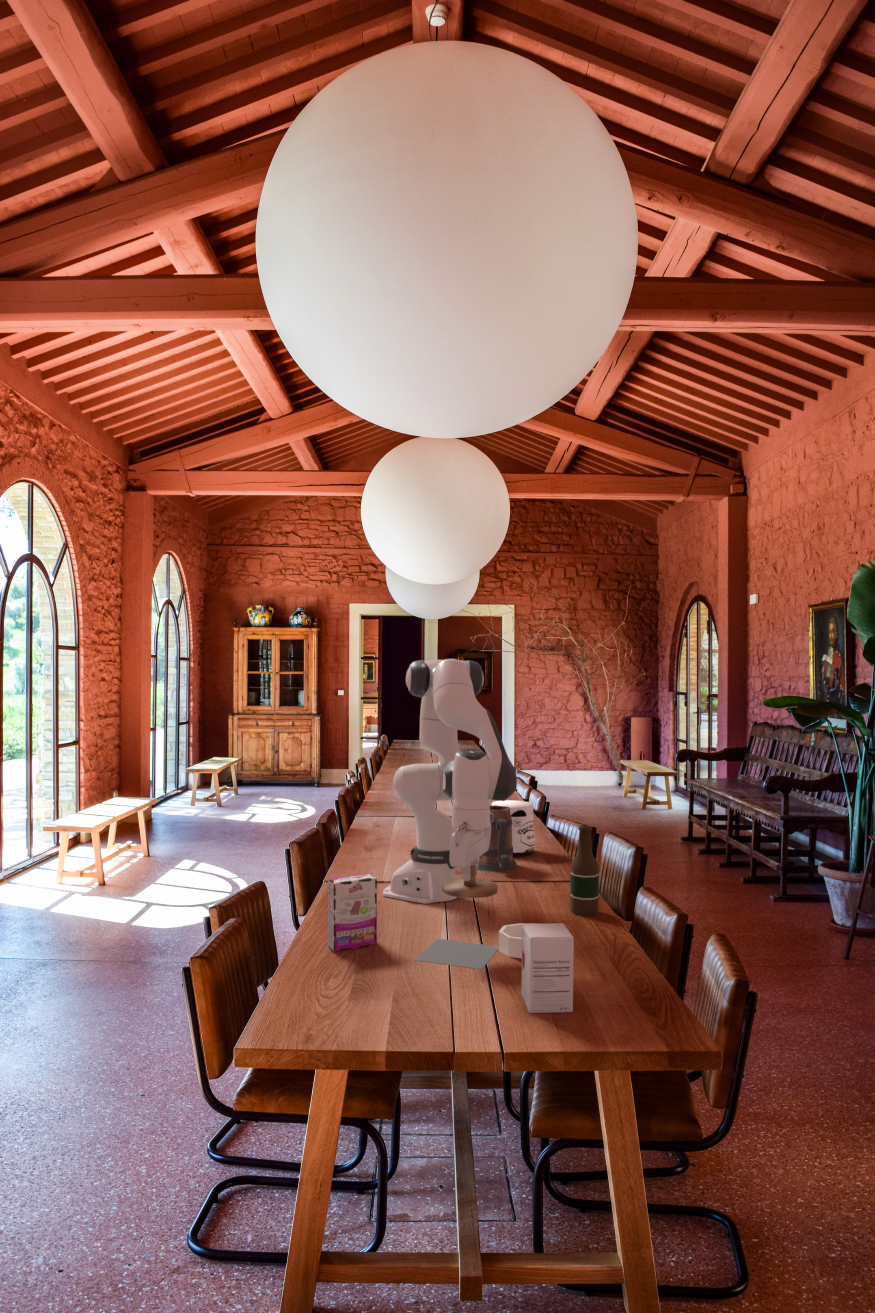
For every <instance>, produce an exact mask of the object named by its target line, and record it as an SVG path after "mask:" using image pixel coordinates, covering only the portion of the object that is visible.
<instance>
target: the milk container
mask: <svg viewBox="0 0 875 1313" xmlns="http://www.w3.org/2000/svg"><path fill="white" fill-rule="evenodd" d="M490 806H507V807H509V808H510V813H511V819H512V846H513V856H520V855H527V854H530V853H532V852H533V851H534V850H535V847H536V833H535V829H534V811H535V810H534V809H535V808H534V803H532V802H530V801H524V800H517V799H516V800H515V799H511V800H509V799H506V800H505V801H498V800H494V801H492V802H491V805H490Z"/></svg>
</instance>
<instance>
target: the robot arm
mask: <svg viewBox="0 0 875 1313" xmlns="http://www.w3.org/2000/svg"><path fill="white" fill-rule="evenodd" d="M484 680H485V677H484V672H483V669H482V665H481V664H480V663H479V662H477V661H475V660H474V661H473V660H470V659H468V660H459V659H457V658H444V659H431V660H423V659H420V660H414V661H412V662H411V663H410V664H409V666H408V668H407V670H406V675H405V684H406V688H408V692H409V693H410V694H411V695H412V697H413V696H414V697H417V698H421V703H420V714H419V737H418V738H419V743H420V745H421V746H422V747H423V748H424V749H425V750H427V751H429V752H431V753H432V754H435V755H436V756H437V757H438V762H435V763H434V762H433V763H413V764H407V765H402V766H400V767H399V768H397V769H396V771H395V773H394V776H393V780H392V785H393V790H394V792H395V794H396V796H397V797H398V798H399V799H400V800H402V801H403V802H404V803H405V804H406V805H407V806H408V807H409V808H410V810H411V812H412V814H413V816H414V819H415V824H416V845H414V847H413V848H411V849H410V850H409V853H408V855H409V856H410V860H408V861H407V862H405V863H404V864H402V865H401V866H400V867H399V868H398V869H396V870H395V871H394V872H393V874H392V877H391V881H390V885H387V886H386V887H385V888H384V889H383V890H382V896H383V897H386V898H392V899H396V900H401V901H408V902H413V903H418V904H424V905H425V904H426V905H428V904H432V903H438V902H440V903H442V902H448V901H453V900H456V899H457V898H459V897H455V896H451V895H448V894H445V893H444V892H443V891H442V884H443V882H445V881H448V880H451V879H457V878H456V869H455V868H461V873H462V878H463V880H464V881H470V880H471V879H472V872H471V870H470V866H471V865H474V866H476V876H477V875H478V870H477V867H478V863H479V857H480V856H481V855H482V854H484V853H485V852H487V851H488V849H489V846H490V837H491V823H492V822H493V813H491V812H490V806H491V805H490V802H489V800H491V801H505V800H509V798H510V797H511V796H513V794H514V793H515V792H516V790H517V787H518V783H517V782H518V776H517V772H516V770H515V767H514V765H513V763H512V761H511V760H510V758H509V755H508V753H507V751H506V748H505V744H504V743H503V742H504V741H503V739H502V737H501V735H500V732H499V729H498V727H497V724H496V722H495V720H494V717H493V714H491V712H490V710H489V709H487V708H485V707H483V705H481V703H480V702H479V701H478V699H477V698H476V696H477V695H479V694H480V693H481V692H482V689H483V686H484V682H485V681H484ZM458 731H462V732H466V733H468V734H470V735H473V736H475V737H476V738H478V739H479V740H480V741H481V742H482V745H483V747H484V750H485V751H483V750H481V749H476V748H463V749H460V746H459V738H458ZM438 801H441V802H442V801H446V802H447V801H452V804H451V817H450V816H449V815H448V814H446V813H444V812H443V811H440V810H438V809H437V808H436V805H435V803H436V802H438ZM455 829H456V831H455Z"/></svg>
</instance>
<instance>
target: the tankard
mask: <svg viewBox="0 0 875 1313" xmlns="http://www.w3.org/2000/svg"><path fill="white" fill-rule="evenodd" d="M489 806H490V812H491V813H493V822H492V823H491V837H490V846H489V849H488V851H487V852H485V853H484V854H482V855H481V856H480V857H479V863H478V867H477V871H482V872H489V873H490V872H491V873H503V872H504V873H506V872H512V871H517V869H519V868H520V866H519V864H518V863H517V862H516V860H515V859H514V858H513V857H514V855H513V846H512V819H511V813H510V808H509V807H507V806H491V805H489Z"/></svg>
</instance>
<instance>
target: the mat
mask: <svg viewBox="0 0 875 1313" xmlns="http://www.w3.org/2000/svg"><path fill="white" fill-rule="evenodd" d="M498 951H499V945H498V946H497V945H491V944H490V945H488V944H481V943H473V942H466V941H458V940H451V939H450V940H449V939H443V938H436V939H435V940H434V941H433V942H432V943H431V944H429V946H428V947H427V948H425V949H424V950H423V951H422V952H421V953H420V954H419V955H417V957H416V958H414V961H417V962H424V963H431V964H438V965H445V966H454V967H460V968H465V969H466V968H467V969H473V970H474V969H475V970H483V969H484V967H485V966H487V964H488V963H489V962H490V960H491V959H493V956H495V954H496V953H497V952H498Z"/></svg>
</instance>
